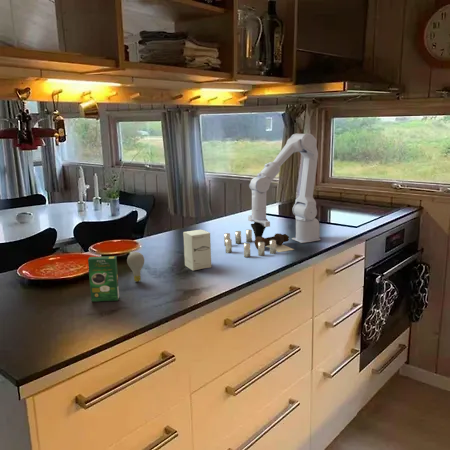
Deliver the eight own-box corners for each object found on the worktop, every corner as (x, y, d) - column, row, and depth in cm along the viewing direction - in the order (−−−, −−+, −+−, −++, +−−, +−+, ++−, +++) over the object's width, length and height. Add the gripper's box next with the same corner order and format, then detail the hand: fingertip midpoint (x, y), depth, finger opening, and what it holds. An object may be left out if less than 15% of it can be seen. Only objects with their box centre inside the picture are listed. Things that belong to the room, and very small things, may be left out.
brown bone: (288, 246, 188) (260, 253, 180) (281, 239, 191) (252, 245, 183) (293, 235, 185) (264, 242, 176) (285, 228, 188) (257, 233, 180)
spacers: (250, 240, 195) (250, 229, 193) (277, 253, 175) (277, 240, 173) (214, 246, 188) (214, 234, 187) (238, 259, 168) (238, 246, 167)
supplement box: (192, 271, 157) (190, 235, 154) (184, 265, 164) (182, 231, 161) (212, 267, 160) (210, 232, 158) (203, 262, 167) (201, 228, 164)
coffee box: (120, 297, 136) (117, 254, 133) (119, 301, 133) (115, 257, 130) (93, 298, 135) (88, 256, 132) (91, 302, 132) (86, 259, 130)
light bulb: (131, 279, 151) (128, 250, 149) (147, 278, 151) (145, 249, 149) (127, 284, 146) (124, 254, 144) (144, 284, 146) (141, 254, 144)
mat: (268, 238, 197) (268, 238, 197) (294, 249, 179) (294, 249, 179) (254, 240, 194) (254, 240, 194) (278, 252, 176) (278, 252, 176)
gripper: (241, 205, 185) (241, 238, 188) (258, 211, 172) (258, 246, 175) (257, 204, 188) (256, 236, 191) (275, 210, 175) (274, 244, 178)
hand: (258, 241), depth 183 cm, fingers closed, pressing on brown bone
